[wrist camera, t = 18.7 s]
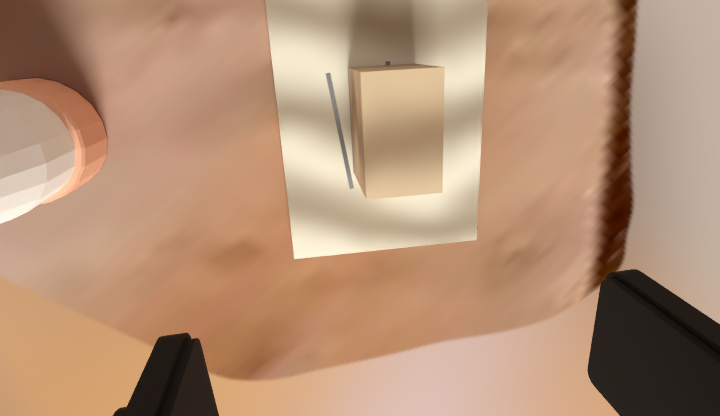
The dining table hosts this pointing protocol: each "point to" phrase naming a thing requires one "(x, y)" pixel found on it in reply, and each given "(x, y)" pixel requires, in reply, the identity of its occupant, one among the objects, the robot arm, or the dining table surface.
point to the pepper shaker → (45, 143)
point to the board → (333, 124)
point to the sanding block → (397, 129)
